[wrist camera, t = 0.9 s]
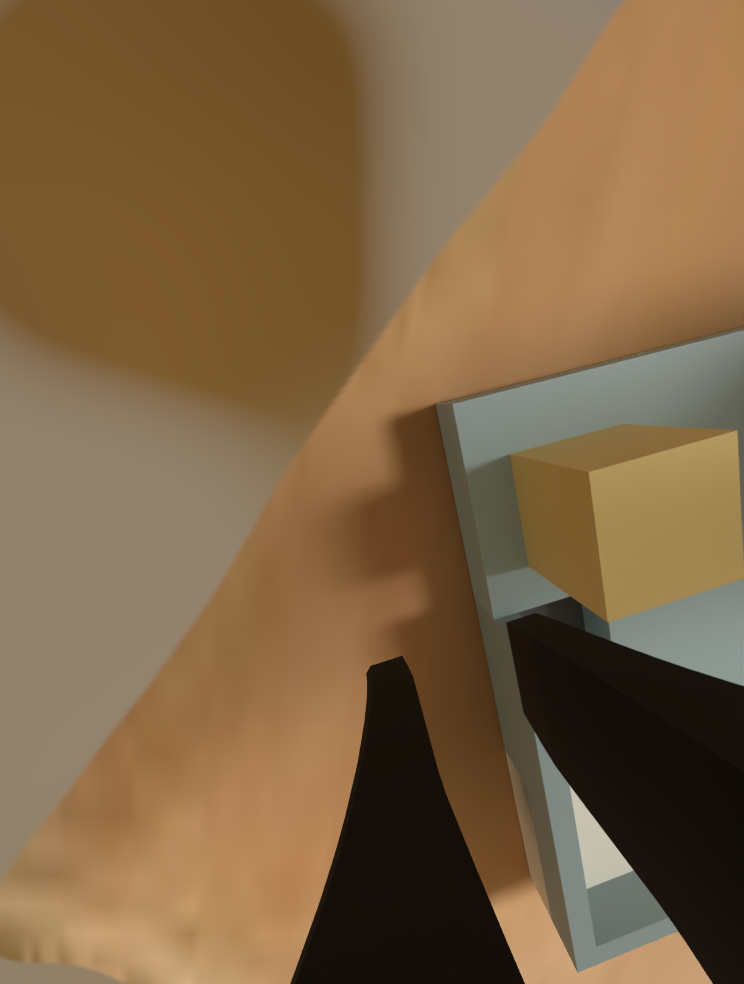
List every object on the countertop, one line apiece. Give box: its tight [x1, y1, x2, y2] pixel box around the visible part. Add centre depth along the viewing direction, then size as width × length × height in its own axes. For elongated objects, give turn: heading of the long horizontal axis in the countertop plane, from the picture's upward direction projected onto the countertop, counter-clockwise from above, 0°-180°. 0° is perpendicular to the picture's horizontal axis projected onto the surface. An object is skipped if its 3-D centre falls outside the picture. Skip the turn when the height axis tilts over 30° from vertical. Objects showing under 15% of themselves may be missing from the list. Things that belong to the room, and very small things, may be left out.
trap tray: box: [435, 326, 744, 972], centre depth 19 cm, size 17×24×4 cm
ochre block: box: [510, 424, 744, 622], centre depth 15 cm, size 4×4×4 cm
